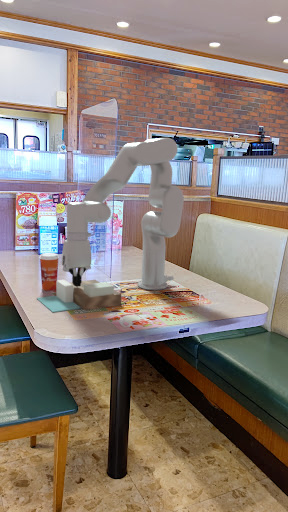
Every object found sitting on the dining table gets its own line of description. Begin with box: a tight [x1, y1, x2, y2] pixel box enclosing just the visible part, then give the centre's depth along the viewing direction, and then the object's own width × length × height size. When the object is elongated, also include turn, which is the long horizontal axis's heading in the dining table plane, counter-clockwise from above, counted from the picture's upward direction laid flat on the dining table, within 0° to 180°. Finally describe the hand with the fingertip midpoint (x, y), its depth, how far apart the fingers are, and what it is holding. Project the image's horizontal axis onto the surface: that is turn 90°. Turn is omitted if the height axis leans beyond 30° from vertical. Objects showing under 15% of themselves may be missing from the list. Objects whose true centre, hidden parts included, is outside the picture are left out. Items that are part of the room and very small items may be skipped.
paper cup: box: [38, 252, 60, 292], centre depth 160 cm, size 8×8×14 cm
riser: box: [69, 279, 122, 311], centre depth 150 cm, size 14×22×4 cm, turn 32°
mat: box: [36, 294, 82, 313], centre depth 143 cm, size 10×17×1 cm, turn 32°
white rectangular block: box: [55, 279, 73, 303], centre depth 147 cm, size 6×9×3 cm
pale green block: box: [84, 281, 115, 297], centre depth 143 cm, size 6×9×3 cm, turn 122°
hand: (76, 285), depth 149 cm, fingers closed
